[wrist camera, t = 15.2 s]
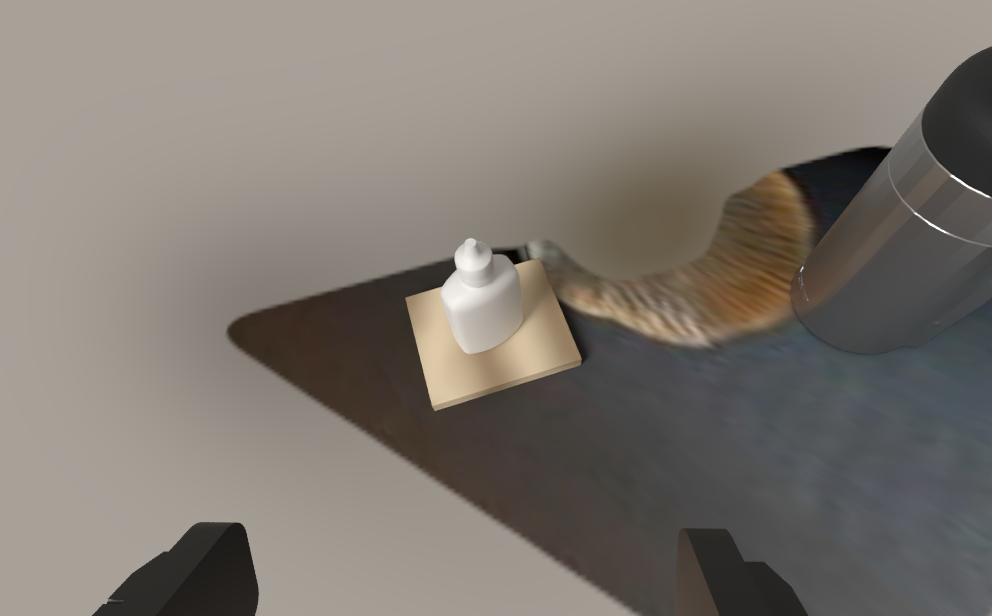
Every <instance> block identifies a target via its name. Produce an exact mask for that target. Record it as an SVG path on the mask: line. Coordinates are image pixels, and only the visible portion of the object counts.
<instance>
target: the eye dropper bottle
mask: <svg viewBox="0 0 992 616" xmlns="http://www.w3.org/2000/svg"><path fill="white" fill-rule="evenodd" d="M455 263H456V267H457V270H456V271H455V272H454V273H453V274H452V275H451V276H450V277H449V279H448V280H447V281H446V282H445V284H444V285H443V287H442V288H441V292H440V297H441V300H442V304H443V307H444V310H445V312H446V315H447V318H448V321H449V324H450V326H451V329H452V332H453V335H454V337H455V339H456V341H457V343H458V344H459V346H460V347H461V349H462V350H463V351H464V352H465V353H468V354H475V353H480V352H484V351H487V350H489V349H492V348H494V347H496V346H498V345H500V344H501V343H503V342H504V341H506V340H507V339H508V338H509V337H511V336H512V335H513V334H514V333H515V331H516V330H517V329H518V328H519V326H520V325H521V323H522V321H523V309H522V298H521V287H520V279H519V274H518V271H517V269H516V267H515V266H514V265H513V263H512V262H511V261H510V260H509V259H508V258H507V257H506V256H504V255H492V251H491V249H490V248H489V246H488V245H487V244H485V243H483V242H480V241H476V240H474V239H473V238H469V239H467V240H466V241H465V243H464V244H462V245H461V246H460V247H459V248H458V250H457V251H456V253H455Z"/></svg>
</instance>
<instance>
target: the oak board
mask: <svg viewBox="0 0 992 616" xmlns="http://www.w3.org/2000/svg"><path fill="white" fill-rule="evenodd" d="M514 266H515V267H516V269H517V271H518V274H519V279H520V287H521V298H522V309H523V321H522V323H521V325H520V326H519V328H518V329H517V330H516V331H515V333H514V334H513V335H512V336H511V337H509V338H508V339H507V340H506V341H504V342H503V343H501V344H500V345H498V346H496V347H494V348H492V349H489V350H487V351H484V352H480V353H475V354H468V353H465V352H464V351H463V350H462V349H461V347H460V346H459V344H458V343H457V341H456V339H455V337H454V335H453V332H452V329H451V326H450V324H449V321H448V318H447V315H446V312H445V310H444V307H443V304H442V300H441V297H440V292H441V288H442V287H440V288H436V289H433V290H430V291H426V292H423V293H420V294H416V295H413V296H410V297H406V302H407V306H408V310H409V314H410V318H411V323H412V327H413V331H414V335H415V339H416V343H417V347H418V351H419V355H420V359H421V363H422V367H423V371H424V375H425V379H426V383H427V387H428V391H429V395H430V399H431V403H432V407H433V408H434V410H435V411H437V410H440V409H443V408H446V407H449V406H453V405H456V404H459V403H462V402H465V401H468V400H472V399H475V398H478V397H481V396H484V395H487V394H491V393H494V392H497V391H500V390H503V389H506V388H509V387H513V386H516V385H519V384H522V383H525V382H528V381H532V380H535V379H538V378H541V377H544V376H547V375H551V374H554V373H557V372H560V371H563V370H566V369H570V368H573V367H576V366H579V365H581V360H582V359H581V356H580V354H579V351H578V349H577V347H576V344H575V342H574V339H573V337H572V335H571V332H570V330H569V327H568V325H567V323H566V320H565V318H564V315H563V313H562V310H561V308H560V306H559V303H558V301H557V298H556V296H555V294H554V291H553V289H552V286H551V284H550V282H549V279H548V277H547V274H546V272H545V270H544V267H543V265H542V262H541V260H540V258H536V259H533V260H530V261H526V262H523V263H520V264H516V265H514Z"/></svg>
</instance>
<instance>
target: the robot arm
mask: <svg viewBox="0 0 992 616" xmlns="http://www.w3.org/2000/svg"><path fill="white" fill-rule="evenodd" d="M790 291H791V301H792V304H793V306H794V309H795V312H796V313H797V315H798V317H799V318H800V320H801V321H802V323H803V324H804V325H805V326H806V327H807V328H808V329H809V330H810V331H811V332H812V333H813V334H815V335H816V336H817V337H818V338H820V339H821V340H823V341H825V342H826V343H828V344H830V345H832V346H834V347H836V348H839V349H842V350H845V351H847V352H853V353H858V354H879V353H885V352H889V351H891V350H893V349H896V348H898V347H901V346H908V347H914V348H918V347H919V346H921V345H922V344H924V343H925V342H927V341H928V340H930V339H931V338H933V337H934V336H936V335H937V334H939V333H940V332H942V331H943V330H945V329H946V328H948V327H949V326H951V325H952V324H954V323H955V322H957V321H958V320H960V319H961V318H963V317H964V316H966V315H967V314H969V313H970V312H972V311H973V310H975V309H976V308H978V307H979V306H981V305H982V304H984V303H985V302H987V301H988V300H990V299H992V47H989V48H987V49H985V50H982V51H980V52H978V53H976V54H975V55H973V56H971V57H970V58H968V59H967V60H966V61H965V62H963V63H962V64H961V65H959V66H958V67H957V68H956V69H955V70H954V71H953V72H952V73H951V74H950V76H949V77H948V78H947V79H946V80H945V81H944V83H943V84H942V85H941V87H940V88H939V89H938V90H937V92H936V93H935V94H934V96H933V97H932V98H931V99H930V101H929V102H928V103H927V105H926V106H925V107H924V109H923V110H922V111H921V113H920V114H919V115H918V116H917V117H916V119H915V120H914V122H913V123H912V124H911V125H910V126H909V128H908V129H907V130H906V132H905V133H904V134H903V135H902V137H901V138H900V139H899V141H898V142H897V143H896V145H895V146H894V147H893V149H892V150H891V151H890V152H889V154H888V155H887V156H886V158H885V159H884V160H883V161H882V163H881V164H880V165H879V167H878V168H877V169H876V170H875V172H874V173H873V174H872V176H871V177H870V178H869V179H868V181H867V182H866V183H865V185H864V186H863V187H862V188H861V190H860V191H859V192H858V194H857V195H856V196H855V197H854V199H853V200H852V201H851V203H850V204H849V205H848V206H847V208H846V209H845V210H844V212H843V213H842V214H841V215H840V217H839V218H838V219H837V221H836V222H835V223H834V224H833V226H832V227H831V228H830V230H829V231H828V232H827V233H826V235H825V236H824V237H823V239H822V240H821V241H820V242H819V244H818V245H817V246H816V247H815V249H814V250H813V251H812V253H811V254H810V255H809V256H808V257H807V258H806V259H805V261H804V262H803V264H802V265H801V267H800V268H799V269H798V271H797V272H796V274H795V276H794V278H793V280H792V284H791V290H790ZM258 596H259V592H258V584H257V579H256V575H255V570H254V565H253V561H252V556H251V552H250V547H249V543H248V538H247V533H246V530H245V528H244V526H243V525H242V524H241V523H223V522H221V523H220V522H216V523H215V522H200V523H197V524H195V525H194V526H192V527H191V528H190V529H189V530H188V531H187V532H186V533H185V534H184V536H183V537H182V538H181V539H180V540H179V541H178V542H177V543H176V544H175V545H174V546H173V548H172V549H171V550H170V551H169V552H163V553H161V554H160V555H158V556H157V557H155V558H154V559H152V560H151V561H149V562H148V563H147V564H145V565H144V566H142V567H141V568H139V569H138V570H136V571H135V572H134V573H132V574H131V575H130V576H129V577H128V578H127V579H126V581H125V582H124V583H123V584H122V585H121V586H120V587H119V588H118V589H117V590H116V591H115V592H114V593H113V594H112V595H111V596H110V597H109V598H108V602H107V604H103V605H102V606H101V607H100V608H99V609H98V610H97V611H96V612H95V613H94V614H93V615H92V616H255V613H256V609H257V605H258ZM675 612H676V616H808V614H807V613H806V611H805V609H804V608H803V606H802V604H801V602H800V601H799V599H798V597H797V596H796V594H795V592H794V590H793V589H792V587H791V586H790V585H789V584H788V583H787V582H785V581H784V580H783V579H782V578H781V577H780V576H779V575H778V574H777V573H776V572H774V571H773V570H772V569H771V568H770V567H769V566H768V565H767V564H766V563H765V562H744V560H743V558H742V556H741V554H740V552H739V550H738V548H737V546H736V544H735V542H734V540H733V538H732V536H731V535H730V533H729V532H728V531H727V530H726V529H697V528H682V529H681V530H680V532H679V539H678V555H677V571H676V587H675Z"/></svg>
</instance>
